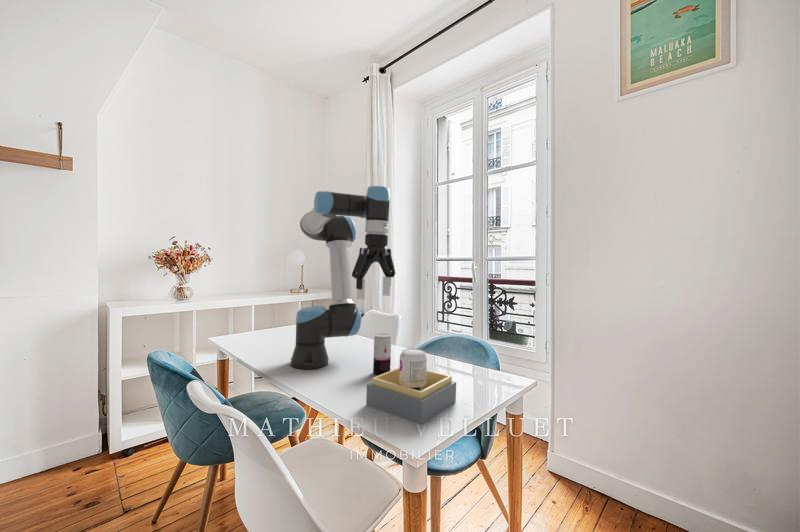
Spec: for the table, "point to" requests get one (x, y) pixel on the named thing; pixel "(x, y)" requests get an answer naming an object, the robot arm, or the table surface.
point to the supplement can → (413, 369)
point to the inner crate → (392, 383)
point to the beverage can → (382, 353)
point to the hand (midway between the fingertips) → (373, 297)
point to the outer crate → (411, 402)
